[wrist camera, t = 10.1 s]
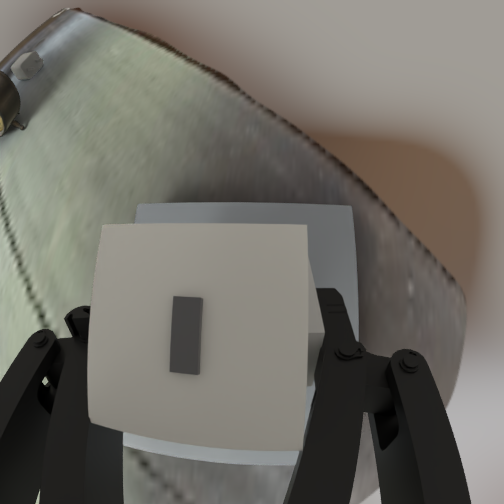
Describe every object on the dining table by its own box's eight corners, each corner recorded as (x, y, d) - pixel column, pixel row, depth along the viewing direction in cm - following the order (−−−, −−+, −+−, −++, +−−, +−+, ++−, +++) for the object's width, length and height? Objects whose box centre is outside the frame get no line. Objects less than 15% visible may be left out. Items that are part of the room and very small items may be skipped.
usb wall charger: (34, 65, 32) (24, 51, 28) (51, 63, 31) (41, 48, 27) (19, 81, 31) (9, 67, 27) (35, 80, 30) (24, 65, 26)
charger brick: (277, 377, 17) (303, 453, 5) (196, 373, 17) (84, 423, 5) (279, 297, 18) (308, 221, 6) (200, 294, 18) (99, 221, 6)
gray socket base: (338, 445, 16) (350, 460, 13) (139, 432, 17) (122, 445, 14) (340, 223, 21) (351, 205, 18) (152, 220, 21) (137, 203, 18)
